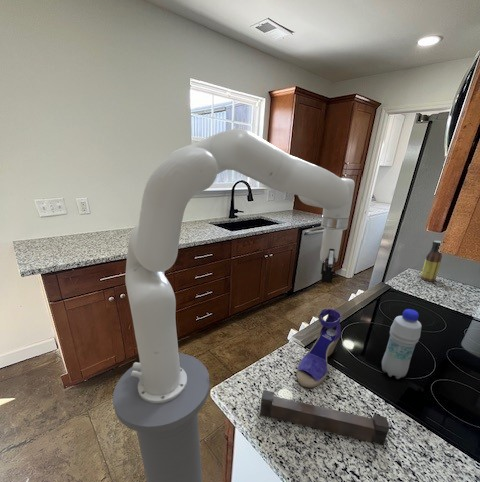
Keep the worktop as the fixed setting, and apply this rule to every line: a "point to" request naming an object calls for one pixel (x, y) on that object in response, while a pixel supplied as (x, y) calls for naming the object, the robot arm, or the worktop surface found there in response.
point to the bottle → (401, 343)
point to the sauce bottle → (432, 263)
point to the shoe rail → (325, 418)
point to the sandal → (320, 350)
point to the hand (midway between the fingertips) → (326, 277)
